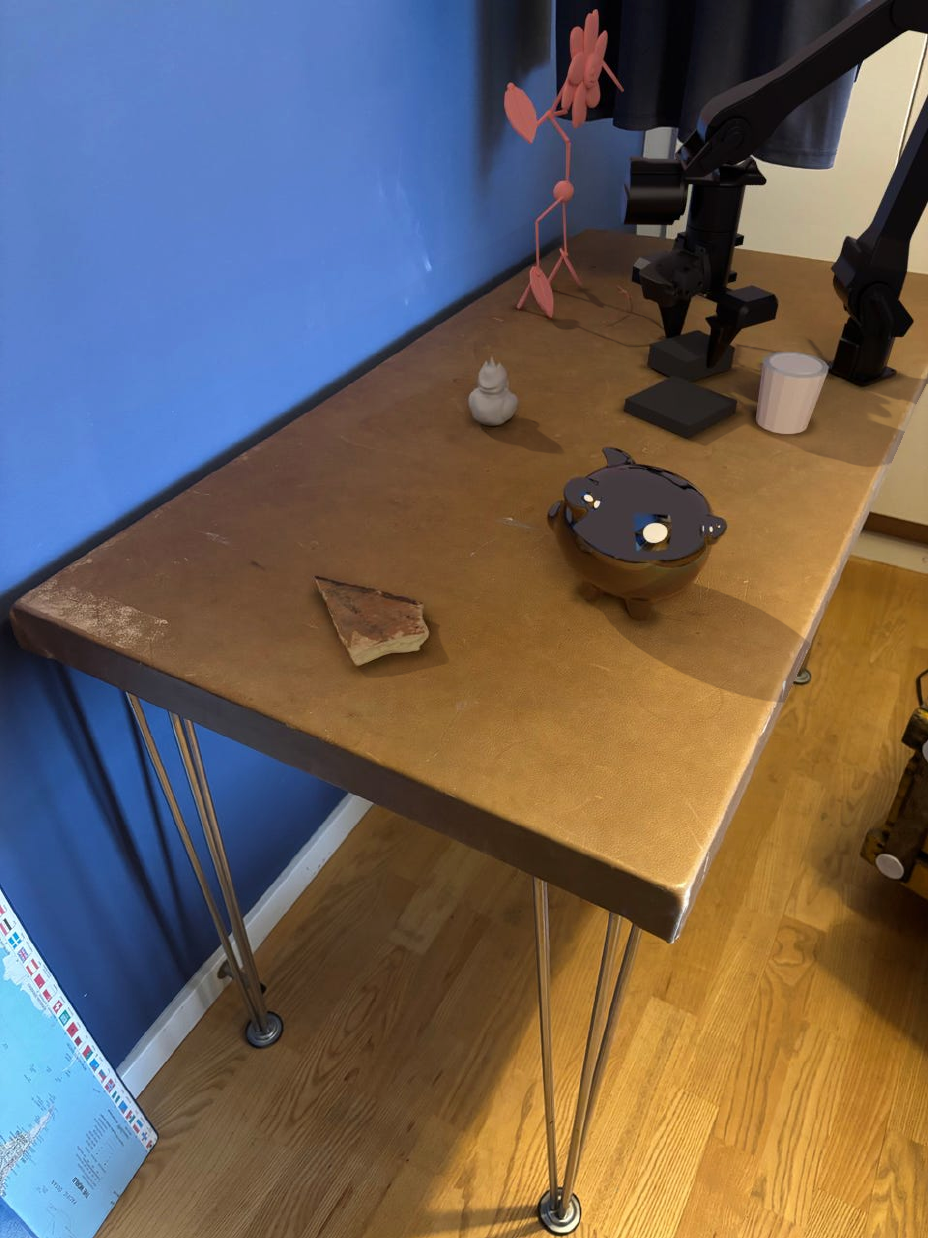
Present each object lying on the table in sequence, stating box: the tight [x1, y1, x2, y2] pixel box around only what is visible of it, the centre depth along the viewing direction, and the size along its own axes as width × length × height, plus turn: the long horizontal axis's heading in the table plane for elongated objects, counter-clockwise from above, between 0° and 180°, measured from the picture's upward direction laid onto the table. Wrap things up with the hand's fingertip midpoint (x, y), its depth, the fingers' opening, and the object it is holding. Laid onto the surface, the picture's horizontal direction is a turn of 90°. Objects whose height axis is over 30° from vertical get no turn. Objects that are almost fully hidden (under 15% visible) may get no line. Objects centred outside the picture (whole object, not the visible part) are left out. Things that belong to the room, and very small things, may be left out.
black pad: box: [647, 329, 736, 383], centre depth 112 cm, size 8×6×3 cm
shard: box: [314, 575, 430, 667], centre depth 75 cm, size 11×8×2 cm
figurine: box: [493, 9, 633, 324], centre depth 118 cm, size 15×26×35 cm, turn 151°
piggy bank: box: [546, 446, 728, 621], centre depth 75 cm, size 11×15×12 cm
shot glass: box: [755, 350, 829, 435], centre depth 100 cm, size 7×7×7 cm
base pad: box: [623, 376, 739, 440], centre depth 104 cm, size 9×9×2 cm
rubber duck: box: [468, 355, 519, 427], centre depth 100 cm, size 5×7×8 cm
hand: (690, 357), depth 112 cm, fingers closed on black pad, 6 cm apart
